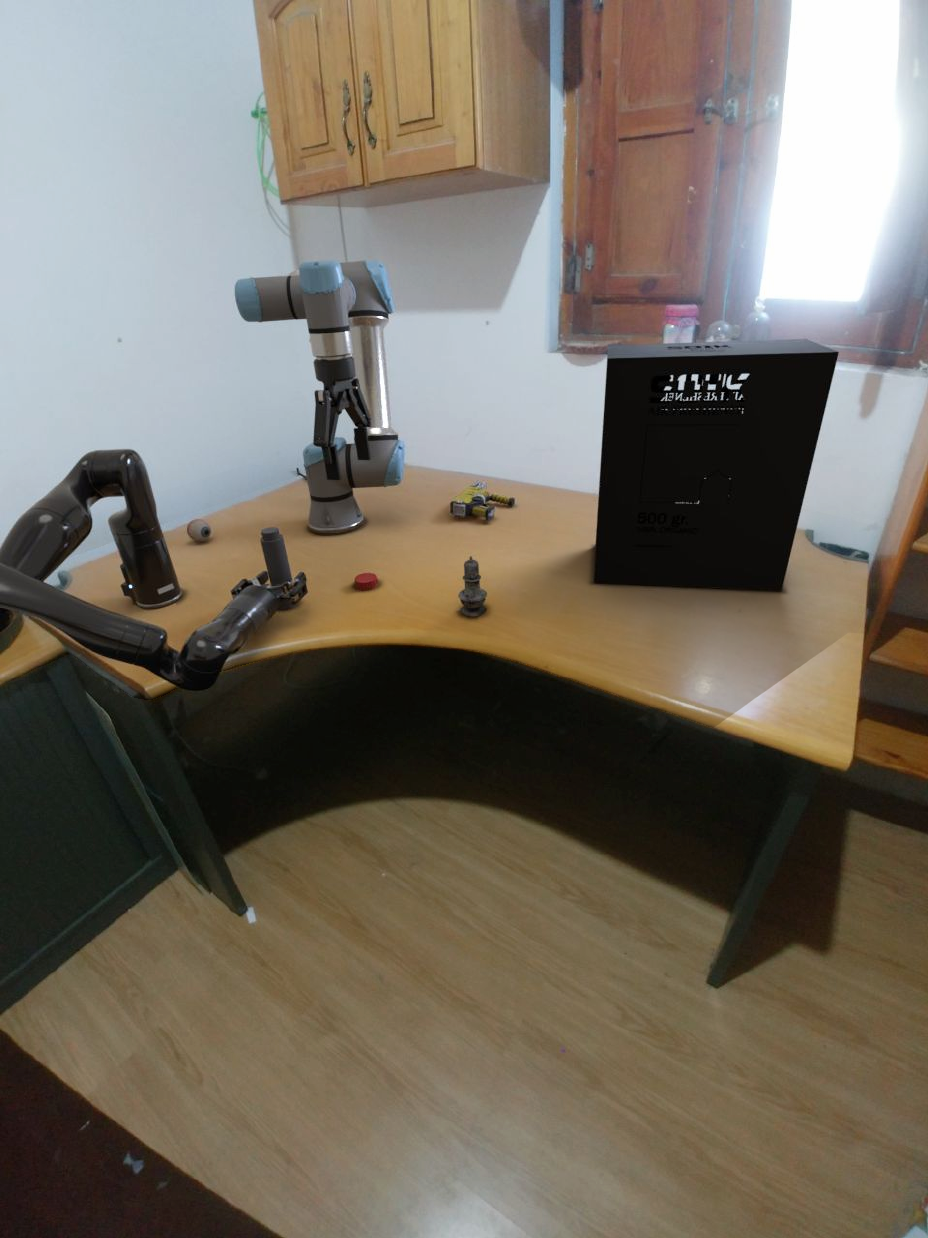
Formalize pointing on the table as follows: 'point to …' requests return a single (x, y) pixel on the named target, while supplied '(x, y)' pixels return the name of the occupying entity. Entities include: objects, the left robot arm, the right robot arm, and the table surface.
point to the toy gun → (477, 502)
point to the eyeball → (199, 530)
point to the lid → (366, 581)
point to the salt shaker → (472, 590)
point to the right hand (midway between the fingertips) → (350, 469)
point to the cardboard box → (707, 461)
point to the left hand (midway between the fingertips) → (285, 575)
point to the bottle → (276, 560)
